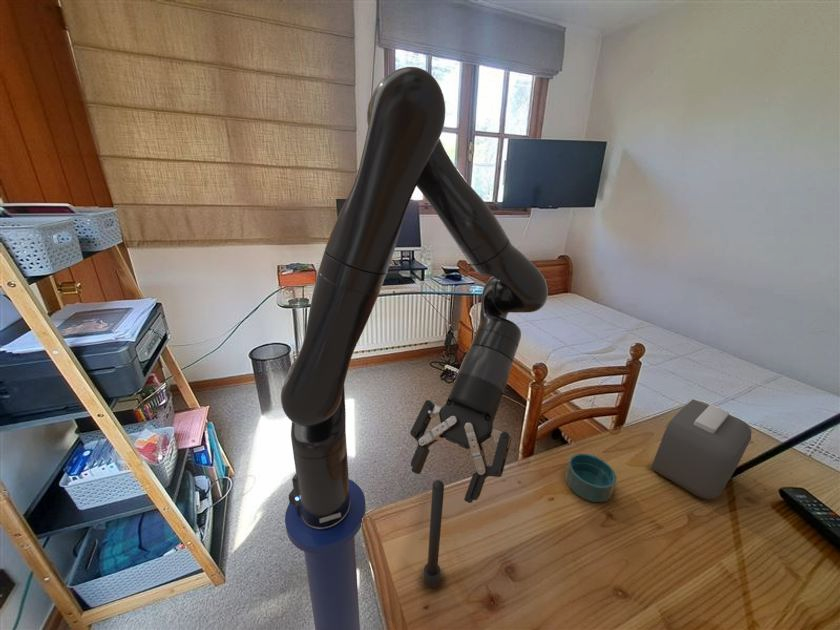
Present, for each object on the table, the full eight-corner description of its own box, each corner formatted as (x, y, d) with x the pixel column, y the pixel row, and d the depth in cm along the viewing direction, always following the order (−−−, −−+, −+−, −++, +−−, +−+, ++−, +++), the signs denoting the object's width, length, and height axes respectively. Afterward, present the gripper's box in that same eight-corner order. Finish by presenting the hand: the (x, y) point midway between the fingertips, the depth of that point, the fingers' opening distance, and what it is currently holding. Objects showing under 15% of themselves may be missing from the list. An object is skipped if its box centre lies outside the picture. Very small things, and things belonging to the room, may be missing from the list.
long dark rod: (421, 585, 54) (427, 487, 46) (425, 568, 56) (431, 472, 48) (437, 590, 53) (446, 492, 45) (441, 573, 55) (449, 476, 47)
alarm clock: (676, 443, 85) (697, 392, 79) (734, 473, 77) (762, 418, 71) (648, 473, 76) (670, 417, 70) (710, 511, 68) (740, 450, 62)
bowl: (568, 498, 69) (572, 481, 68) (562, 464, 78) (566, 449, 76) (616, 509, 67) (621, 492, 66) (605, 473, 76) (609, 458, 74)
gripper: (433, 359, 53) (389, 462, 48) (523, 390, 46) (482, 513, 41) (447, 374, 59) (409, 466, 54) (528, 402, 52) (493, 511, 47)
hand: (440, 486), depth 48 cm, fingers open, 8 cm apart
